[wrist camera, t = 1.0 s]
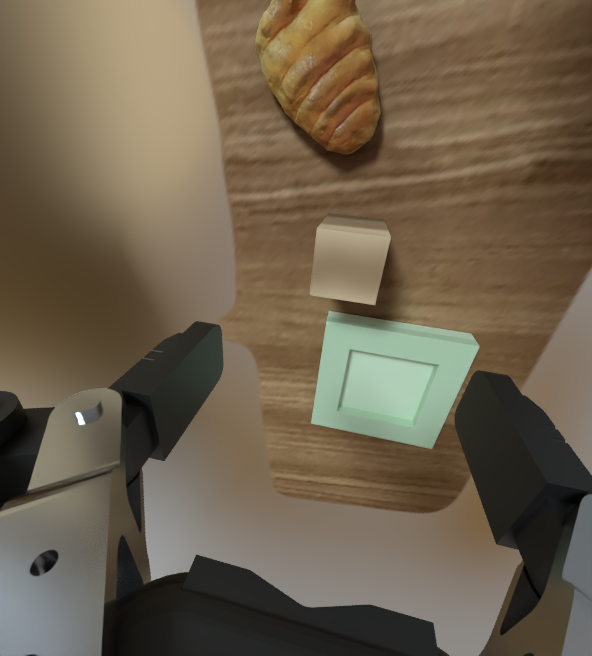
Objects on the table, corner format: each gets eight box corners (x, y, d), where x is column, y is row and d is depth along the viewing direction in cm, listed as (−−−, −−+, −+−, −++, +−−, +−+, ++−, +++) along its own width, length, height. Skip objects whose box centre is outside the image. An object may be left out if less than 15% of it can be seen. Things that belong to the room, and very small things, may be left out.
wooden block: (328, 213, 24) (317, 228, 18) (383, 219, 24) (391, 237, 18) (321, 266, 26) (309, 294, 20) (372, 273, 26) (375, 305, 20)
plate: (329, 310, 28) (326, 321, 26) (471, 333, 27) (479, 346, 25) (314, 409, 35) (311, 423, 33) (427, 432, 33) (431, 449, 31)
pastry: (404, 114, 20) (411, 104, 17) (323, 176, 23) (316, 178, 20) (333, -39, 18) (325, -85, 14) (251, 53, 21) (229, 32, 17)
